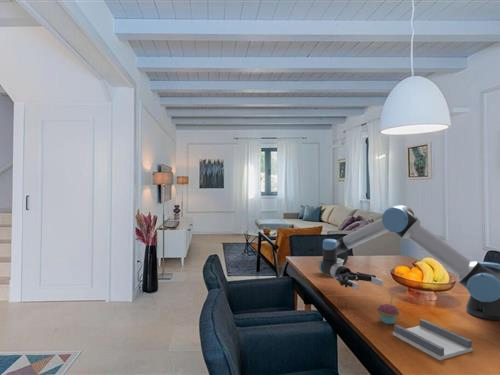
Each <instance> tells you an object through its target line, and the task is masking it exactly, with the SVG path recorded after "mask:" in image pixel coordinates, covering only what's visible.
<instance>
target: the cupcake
mask: <svg viewBox="0 0 500 375" xmlns="http://www.w3.org/2000/svg"><path fill="white" fill-rule="evenodd" d="M393 299H394V294H393V293H392V294H391V296H390V302H389V303H386V304H381V305H379V306H378V307H377V310H376V312H377V314H379V316H380V318H381V321H382V323H384V324H387V325H394V324H395V322H396V319H397V317H398V316H399V315H400V311H399V309H398V308H397V307H396V306H395V305H393Z"/></svg>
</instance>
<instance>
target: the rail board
mask: <svg viewBox="0 0 500 375" xmlns="http://www.w3.org/2000/svg"><path fill="white" fill-rule="evenodd" d="M392 335H393V336H395V337H396V338H398V339H400V340H401V341H403V342H406V343H407V344H410V345H411V346H413V347H414V348H417V349H418V350H420V351H422V352H423V353H426V354H428V355H429V356H430V357H432V358H435V359H436V360H439V361H443V360H446V359H450V358H453V357H456V356H460V355H463V354H466V353H470V352H473V346H472V342H473V341H472V340H471V339H470V338H466V337H464V336H462V335H460V334H458V333H455V332H453V331H451V330H448V329H446V328H444V327H442V326H439V325H437V324H435V323H433V322H431V321H428V320H426V319H423V318H420V319H419V325H417V326H413V327H412V326H411V327H408V328H406V327H403V326H401V325H399V324H393V332H392Z"/></svg>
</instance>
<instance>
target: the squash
mask: <svg viewBox="0 0 500 375" xmlns="http://www.w3.org/2000/svg"><path fill="white" fill-rule="evenodd" d="M337 258H340V259H343V260H344V262H343V265H344V264H346V263H347V261H348V260H349V259H348V258H349V255H348V252H347V251H345V252H343V253H340V254H338V255H337Z"/></svg>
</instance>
